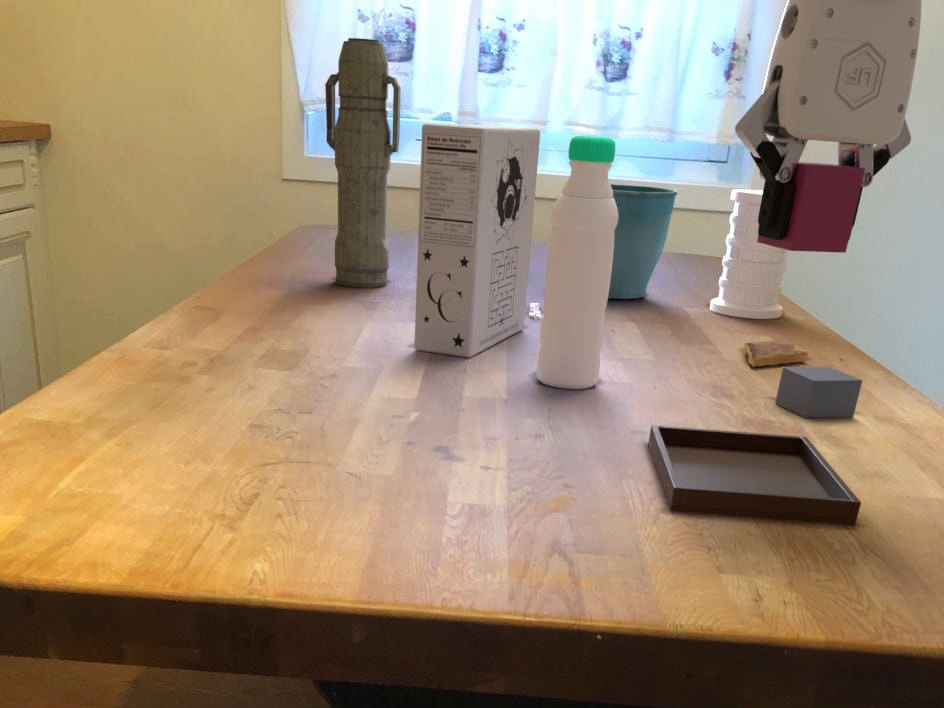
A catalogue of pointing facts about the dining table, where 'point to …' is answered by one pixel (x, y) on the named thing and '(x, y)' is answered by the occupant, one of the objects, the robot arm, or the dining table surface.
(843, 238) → the mulberry block
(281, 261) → the dining table surface
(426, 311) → the cereal box
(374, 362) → the dining table surface
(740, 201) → the decorative container
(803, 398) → the base block
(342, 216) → the thermos
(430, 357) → the dining table surface
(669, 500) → the tray
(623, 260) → the flower pot
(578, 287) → the water bottle
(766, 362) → the tan flat slab
